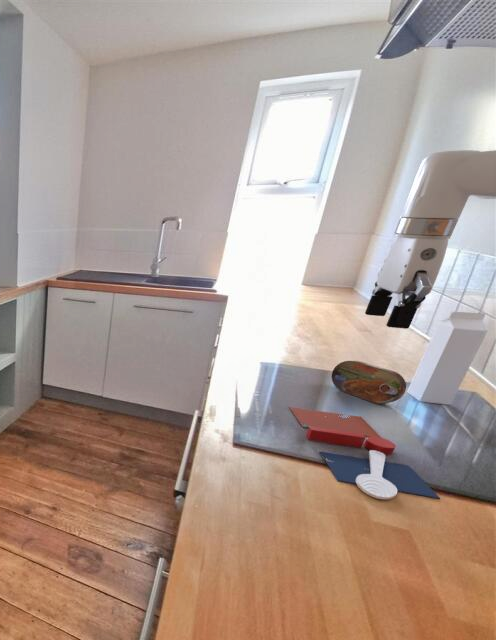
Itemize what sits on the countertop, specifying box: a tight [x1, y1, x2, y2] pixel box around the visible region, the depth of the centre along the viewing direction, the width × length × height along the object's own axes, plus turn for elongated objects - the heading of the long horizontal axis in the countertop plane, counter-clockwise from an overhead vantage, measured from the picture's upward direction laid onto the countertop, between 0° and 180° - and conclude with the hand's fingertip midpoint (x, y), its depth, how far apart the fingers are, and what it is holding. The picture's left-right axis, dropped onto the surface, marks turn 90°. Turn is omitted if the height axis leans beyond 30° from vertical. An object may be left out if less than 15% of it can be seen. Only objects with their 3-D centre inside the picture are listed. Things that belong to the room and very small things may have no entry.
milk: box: [406, 311, 489, 406], centre depth 99 cm, size 6×6×22 cm
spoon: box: [355, 450, 398, 500], centre depth 74 cm, size 5×18×1 cm, turn 138°
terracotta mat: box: [289, 406, 382, 438], centre depth 93 cm, size 14×10×1 cm
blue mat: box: [318, 450, 441, 500], centre depth 75 cm, size 14×10×1 cm
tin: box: [331, 360, 407, 405], centre depth 103 cm, size 15×3×8 cm, turn 17°
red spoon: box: [305, 427, 397, 456], centre depth 84 cm, size 14×4×2 cm, turn 69°
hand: (385, 321), depth 82 cm, fingers open, 9 cm apart
